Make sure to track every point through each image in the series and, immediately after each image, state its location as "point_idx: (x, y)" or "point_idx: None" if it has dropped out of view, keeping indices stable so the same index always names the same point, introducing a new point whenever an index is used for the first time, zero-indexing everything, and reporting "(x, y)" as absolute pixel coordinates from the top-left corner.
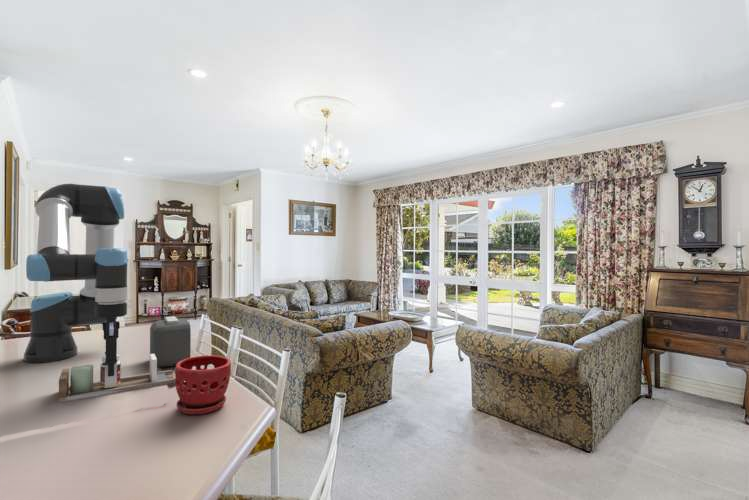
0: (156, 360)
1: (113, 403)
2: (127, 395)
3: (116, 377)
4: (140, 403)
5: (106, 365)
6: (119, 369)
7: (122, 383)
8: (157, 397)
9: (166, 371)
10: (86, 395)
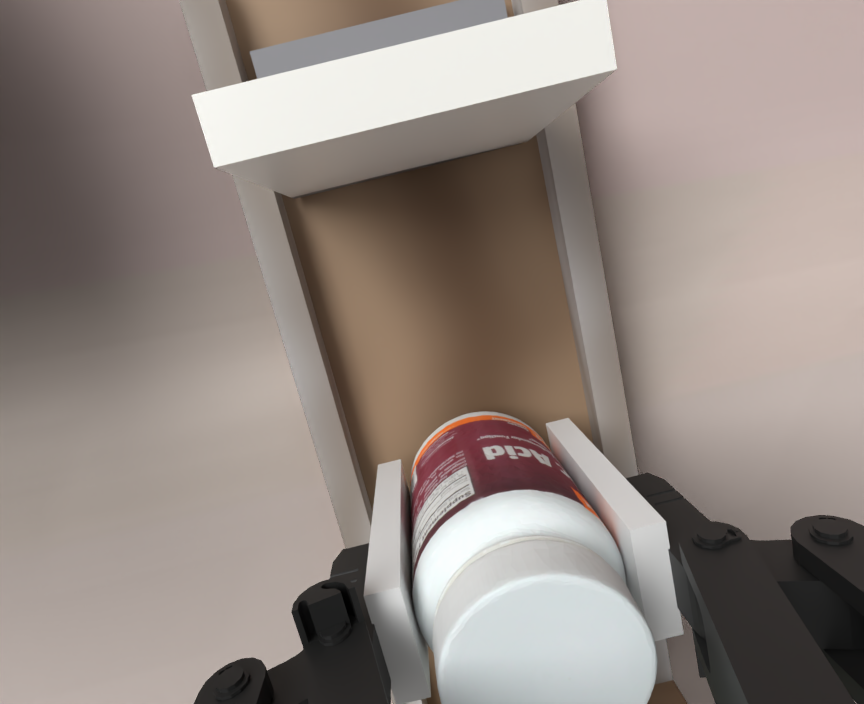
0: (602, 8)
1: (747, 371)
2: (616, 313)
3: (596, 448)
4: (839, 182)
5: (678, 613)
6: (531, 465)
7: (391, 403)
8: (766, 69)
9: (222, 28)
10: None
